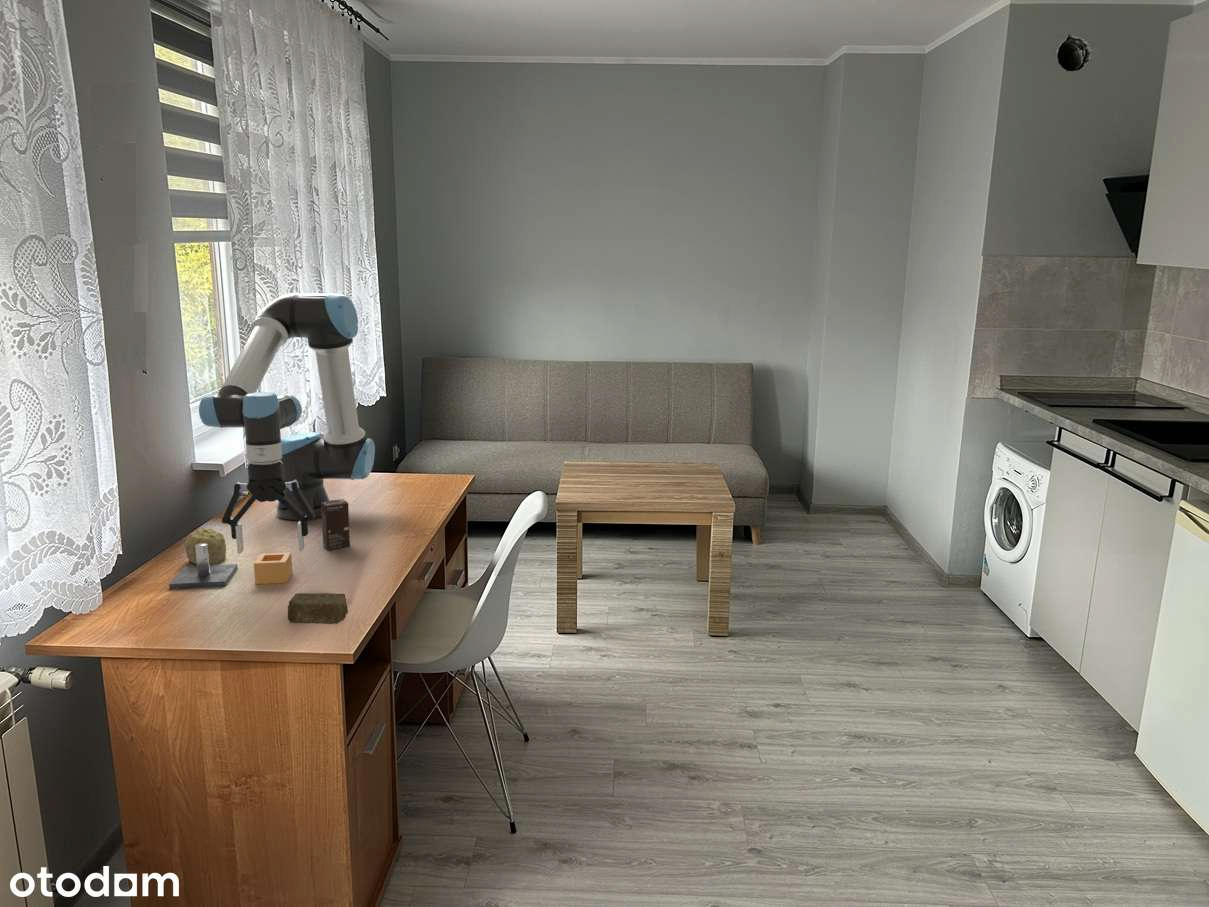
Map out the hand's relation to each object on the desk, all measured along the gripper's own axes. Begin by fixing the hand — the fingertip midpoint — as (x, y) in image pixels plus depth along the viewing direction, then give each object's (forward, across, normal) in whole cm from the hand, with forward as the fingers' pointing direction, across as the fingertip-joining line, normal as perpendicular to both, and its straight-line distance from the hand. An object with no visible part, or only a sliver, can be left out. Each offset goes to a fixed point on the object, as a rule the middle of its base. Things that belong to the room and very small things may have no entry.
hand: (271, 550), depth 213 cm
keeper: (+7, -16, +2) cm, 17 cm away
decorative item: (+7, -19, +16) cm, 26 cm away
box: (+7, +12, +22) cm, 26 cm away
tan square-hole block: (+7, 0, 0) cm, 7 cm away
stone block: (+8, +14, -26) cm, 30 cm away
